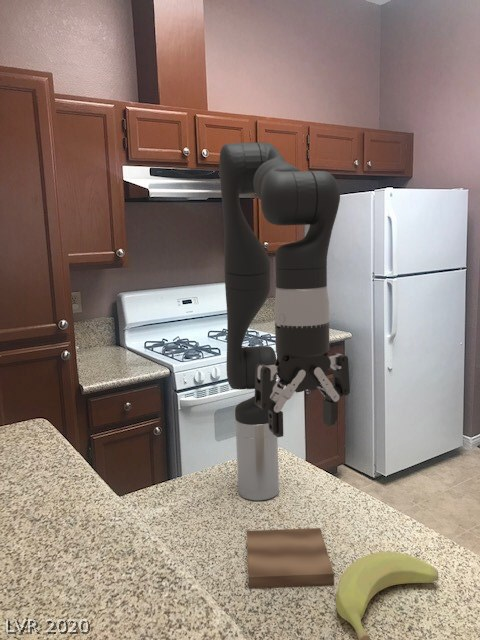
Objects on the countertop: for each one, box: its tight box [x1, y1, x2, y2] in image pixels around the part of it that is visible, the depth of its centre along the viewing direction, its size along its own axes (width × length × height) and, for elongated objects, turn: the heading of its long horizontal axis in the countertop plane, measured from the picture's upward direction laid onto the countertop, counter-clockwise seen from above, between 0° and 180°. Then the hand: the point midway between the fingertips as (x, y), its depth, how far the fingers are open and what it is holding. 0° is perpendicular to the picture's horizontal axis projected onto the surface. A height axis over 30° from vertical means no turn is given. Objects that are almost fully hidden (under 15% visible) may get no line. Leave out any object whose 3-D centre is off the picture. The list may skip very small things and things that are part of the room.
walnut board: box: [246, 527, 335, 589], centre depth 93 cm, size 14×14×2 cm
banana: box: [335, 551, 439, 640], centre depth 80 cm, size 14×6×20 cm
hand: (303, 429), depth 76 cm, fingers open, 8 cm apart
